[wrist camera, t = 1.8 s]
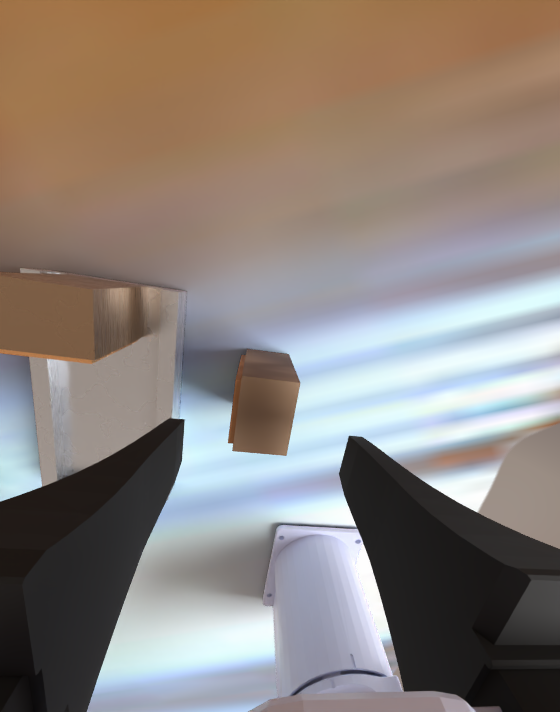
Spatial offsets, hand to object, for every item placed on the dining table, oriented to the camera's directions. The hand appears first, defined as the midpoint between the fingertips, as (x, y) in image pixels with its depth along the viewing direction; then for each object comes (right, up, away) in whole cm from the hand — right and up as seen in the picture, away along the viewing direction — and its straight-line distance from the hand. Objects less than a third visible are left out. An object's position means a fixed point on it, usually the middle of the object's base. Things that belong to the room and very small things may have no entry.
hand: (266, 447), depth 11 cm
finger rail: (-11, +2, +7) cm, 13 cm away
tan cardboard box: (-1, +2, +8) cm, 8 cm away
